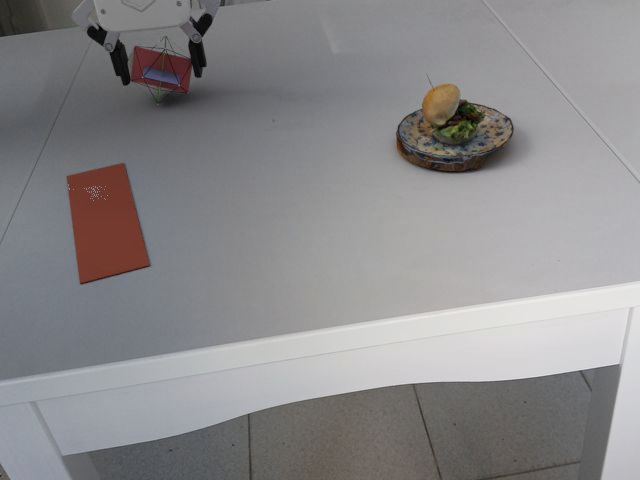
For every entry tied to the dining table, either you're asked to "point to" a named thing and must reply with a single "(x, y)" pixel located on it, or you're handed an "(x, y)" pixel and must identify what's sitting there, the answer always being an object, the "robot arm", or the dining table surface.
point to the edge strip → (105, 224)
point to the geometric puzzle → (160, 69)
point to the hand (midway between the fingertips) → (163, 76)
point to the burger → (451, 131)
